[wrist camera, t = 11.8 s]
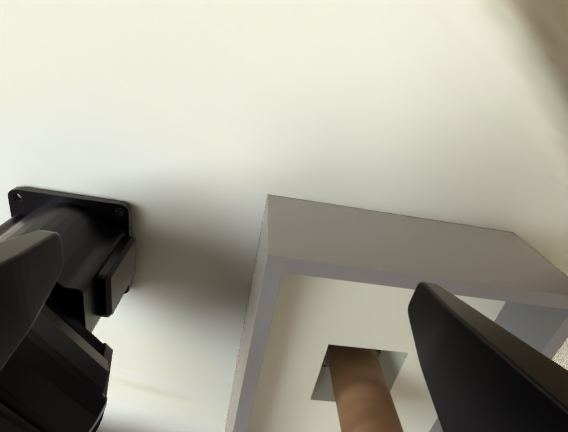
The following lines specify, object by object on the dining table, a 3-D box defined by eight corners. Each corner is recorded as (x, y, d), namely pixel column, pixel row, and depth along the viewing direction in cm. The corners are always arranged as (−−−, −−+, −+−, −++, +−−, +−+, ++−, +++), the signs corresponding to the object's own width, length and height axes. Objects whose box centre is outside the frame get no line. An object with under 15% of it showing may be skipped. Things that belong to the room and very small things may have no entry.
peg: (320, 356, 27) (345, 511, 19) (331, 322, 26) (365, 474, 17) (363, 361, 28) (409, 514, 19) (377, 328, 26) (433, 478, 17)
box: (225, 425, 31) (216, 516, 25) (267, 194, 21) (267, 255, 15) (401, 439, 33) (429, 526, 27) (512, 232, 23) (595, 299, 17)
